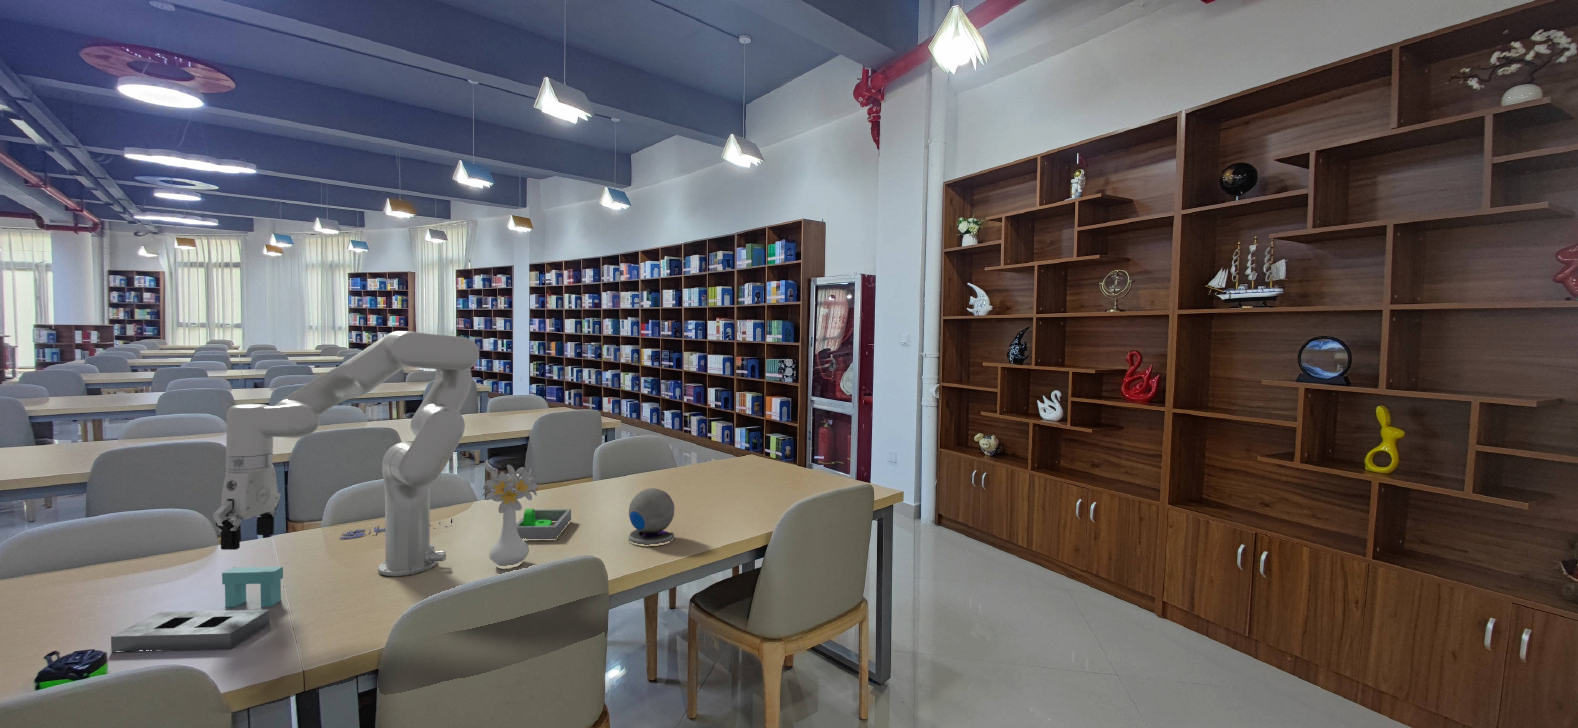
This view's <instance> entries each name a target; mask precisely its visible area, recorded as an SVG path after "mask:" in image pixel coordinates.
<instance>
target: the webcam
mask: <svg viewBox="0 0 1578 728" xmlns="http://www.w3.org/2000/svg"><path fill="white" fill-rule="evenodd" d="M674 516H675V504H674V501H673V498H671V496H670V494H669V493H667V492H666V491H664V490H662V489H659V488H655V487H654V488H653V487H651V488H645V489H643V490H641V491H640V492H638V493H637V494H636V495H635V496H634V497H633V498H632V500H631V501H630V503H629V506H628V517H629V520H630V521H629V522H630V523H631V525H632V526H633V527H634V529H635V530H633V531H631V532H630V533H629V534H628V542H629V541H631V542H633V543H637V544H644V545H650V544H659V543H665V542H668V541H671V540H672V539H673V538H674V539H675V533H674V532H672V531H671V532H669V531H668V530H666V529H667V528H668V527H669V526H670V524H671V523H672V522H673V519H674Z"/></svg>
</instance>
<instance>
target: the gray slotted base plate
mask: <svg viewBox="0 0 1578 728" xmlns="http://www.w3.org/2000/svg"><path fill="white" fill-rule="evenodd" d="M270 615H271V613H270V609H239V610H235V609H234V610H193V611H191V610H189V611H188V610H187V611H159V612H158V613H155V614H154V615H152V616H150V617H148V618H145V619H143V620H141V621H139V622H138V623H136V624H134V625H132V626H129V627H127V628H125V629H123V630H121V631H119V632H117V633H115V634H113V635H111V636H110V648H111V649H110V651H111V652H116V651H139V650H143V651H146V650H149V651H150V650H152V651H151V652H157V651H156V650H172V651H171V652H177V651H178V652H182V651H212V650H214V651H216V650H217V651H218V650H220V651H221V650H232V649H233V648H235V647H236V646H238V645H240V644H241V643H243V642H244V641H246V640H247V639H249V638H251V637H253V636H254V635H255V634H257V633H259V632H260V631H262V630H263V629H264V628H266V627H267V626H269V625H271V618H270V617H271V616H270ZM111 652H110V653H111ZM116 653H117V652H116Z"/></svg>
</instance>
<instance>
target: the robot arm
mask: <svg viewBox="0 0 1578 728" xmlns="http://www.w3.org/2000/svg"><path fill="white" fill-rule="evenodd" d="M479 358H480V349H479V347H478V344H476V342H475V341H473V340H472V339H470V338H468V337H465V336H459V335H458V336H456V335H446V334H445V335H444V334H443V335H442V334H436V333H435V334H433V333H424V332H418V331H410V330H409V331H408V330H396V331H392V332H390V333H388V334H386V335H384V336H383V337H381V338H379V339H377V341H375V342H374V343H372V344H370V345H369V346H368V347H366V348H364V349H363V350H362V351H360V352H359V353H356V354H355V355H354V356H352V357H350V358H349V359H348V360H345V361H344V362H343V363H341V364H340V365H338V366H336V367H334V368H332V369H330V370H329V371H327V372H325V373H324V374H322V375H320V376H318V377H317V378H315V379H313V380H311V381H309V382H308V383H306V384H305V385H302V386H301V387H299V388H298V389H296V390H294V391H293V392H292V393H290V394H289V395H287V396H286V397H284V398H283V399H281V400H279V401H278V402H277V403H275V404H274V406H270V405H269V404H263V403H262V404H261V403H259V404H258V403H247V404H243V403H242V404H236V405H235V404H234V405H232V406H230V407H229V408H228V410H227V412H226V440H225V441H226V442H225V443H226V445H225V446H226V448H225V449H226V450H225V451H226V454H225V458H226V459H225V471H226V472H225V476H224V480H223V485H222V492H221V501H220V502H221V504H220V507H219V508H218V509H216V511H215V512H214V513H213V514H212V517H213V520H214V522H215V526H216V527H217V528H218V531H219V532H220V549H221V550H222V551H225V550H226V551H227V550H231V551H232V550H233V551H234V550H235V551H236V550H238V549H240V547H241V544H240V543H241V542H240V541H241V529H238V528H239V527H240V524H241V523H242V522H243V520H250V519H253V518H256V535H257V536H272V535H274V533H275V516H276V514H277V509H278V507H279V501H280V498H281V493H279V491H278V481H277V474H276V469H275V466H274V465H273V463H274V462H273V458H274V457H273V454H274V453H273V451H274V450H273V449H274V438H293V439H294V438H295V439H297V438H299V439H300V438H304V437H308V436H310V435H311V434H313V433H315V431H317V430H318V428H319V426H320V423H321V417H320V415H322V414H323V413H324V412H327V411H328V410H329V409H331V408H333V407H335V406H336V405H339V404H340V403H342V402H345V401H347V400H350V399H354V398H358V397H362V396H363V395H366V394H368V393H370V392H372V391H373V390H374V389H375V388H377V387H378V386H380V385H381V384H383V383H384V382H385V381H387V380H388V379H390V378H391V377H393V376H394V375H395V374H397V373H398V372H400V371H401V370H403V369H405V368H406V367H408V368H409V367H410V368H419V369H433V370H435V379H434V380H433V384H432V385H431V387H430V389H429V391H428V393H427V394H426V396H425V397H424V399H423V401H422V402H421V404H420V405H419V407H418V408H417V410H416V411H415V413H414V415H413V416H412V418H411V421H410V429H411V432H412V433H413V434H414V436H415V437H414V439H413V441H403V442H402V441H401V442H398V443H395V444H393V445H392V446H391V447H389V449H388V450H386V452H385V454H384V455H383V459H382V464H381V467H382V469H381V472H382V478H383V484H384V485H383V486H384V503H385V504H384V506H385V507H384V528H385V532H384V536H385V539H384V543H385V548H384V549H385V561H383V562H381V563H380V564H379V565H378V566H377V571H378V574H380V575H382V576H385V575H386V576H388V577H401V576H402V577H404V576H410V575H409V574H411V575H415V574H414V573H416V574H419V573H418V572H420V573H423V572H425V570H426V571H427V570H430V569H432V568H433V566H434V565H435V564H436V565H437V563H438V562H445V561H446V560H447V554H446V551H445V550H439V551H436V550H435V545H432V544H431V543H430V542H431V535H430V533H431V531H430V530H431V528H430V527H431V524H430V523H431V521H430V519H431V517H430V514H431V513H430V512H431V511H430V509H431V508H430V503H431V502H430V500H431V495H430V493H431V492H430V486H429V485H430V484H431V483H434V481H436V479H437V478H438V477H439V476H440V475H441V473H443V470H445V467H446V465H447V464H448V462H449V460H450V458H452V456H453V454H454V452H455V450H456V449H457V447H458V445H459V444H460V442H461V440H462V439H463V436H464V433H465V429H466V428H465V427H466V423H465V420H464V417H463V415H462V414H461V412H460V410H462V407H463V405H464V403H465V401H466V399H467V398H468V396H469V393H470V391H471V387H472V383H473V382H472V381H473V379H472V377H473V376H472V370H471V369H472V368H473V367H474V366H475V365H476V364H477V363H478V361H479ZM231 521H233V523H232V522H231ZM436 565H435V566H436ZM435 566H434V567H435ZM422 571H423V572H422ZM403 575H404V576H403Z"/></svg>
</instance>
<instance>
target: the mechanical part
mask: <svg viewBox="0 0 1578 728" xmlns="http://www.w3.org/2000/svg"><path fill="white" fill-rule="evenodd" d="M535 510H536V509H535V508H525V509H524V513H523V517H524V518H523V517H522V518H523V526H551V525H552V524H553V523H552V521H551V520H535ZM552 526H553V525H552Z"/></svg>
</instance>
